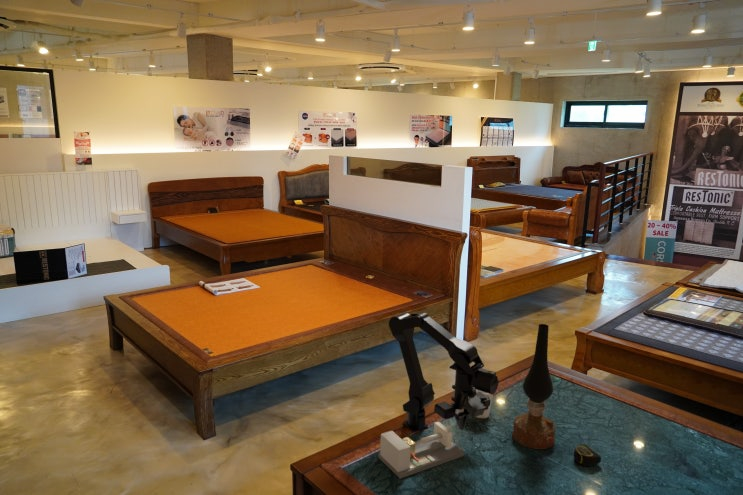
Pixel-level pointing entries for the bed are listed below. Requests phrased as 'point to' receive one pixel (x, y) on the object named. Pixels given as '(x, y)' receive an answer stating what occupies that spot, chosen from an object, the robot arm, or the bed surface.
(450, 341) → the robot arm
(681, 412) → the bed surface
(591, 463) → the tape measure
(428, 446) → the base
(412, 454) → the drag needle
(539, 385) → the oil lamp
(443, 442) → the plunger
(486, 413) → the dixie cup
